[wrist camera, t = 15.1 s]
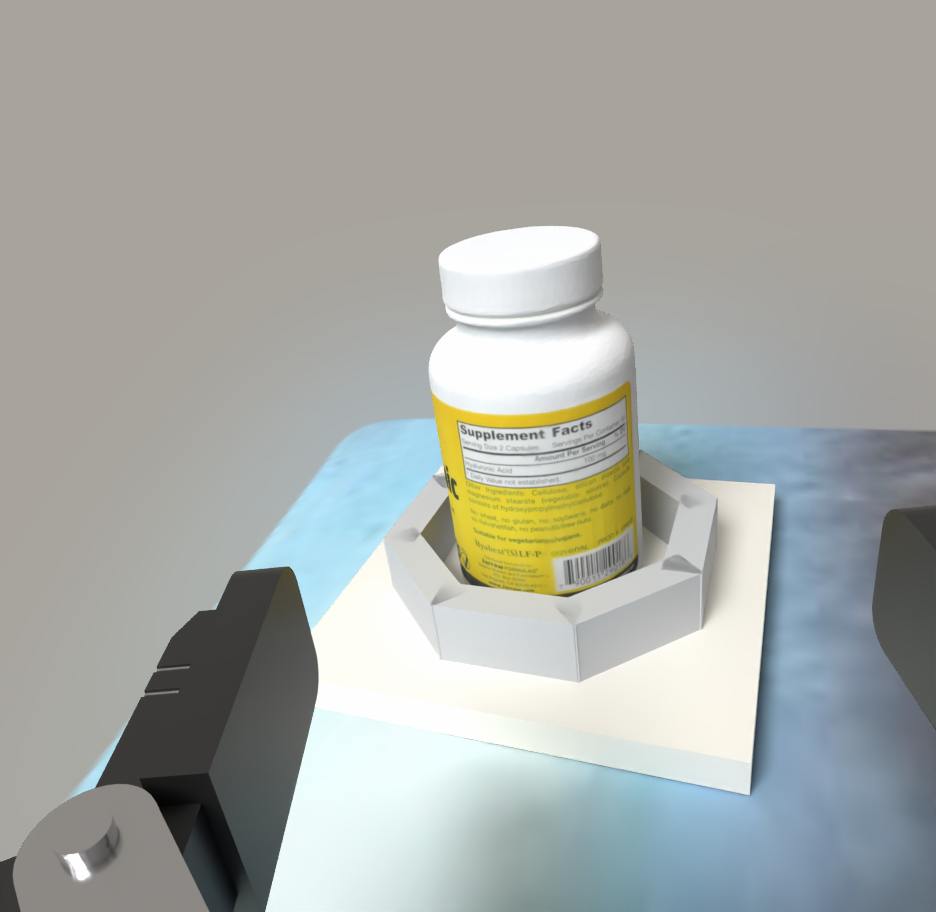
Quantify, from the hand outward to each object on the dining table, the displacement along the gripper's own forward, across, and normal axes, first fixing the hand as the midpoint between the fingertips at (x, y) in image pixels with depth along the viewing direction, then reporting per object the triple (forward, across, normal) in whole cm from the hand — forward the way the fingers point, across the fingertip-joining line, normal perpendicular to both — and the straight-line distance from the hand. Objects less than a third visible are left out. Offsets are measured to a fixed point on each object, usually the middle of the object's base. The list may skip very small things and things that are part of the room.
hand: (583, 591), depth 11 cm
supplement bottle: (+11, 0, +8) cm, 13 cm away
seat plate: (+11, 0, +8) cm, 14 cm away
